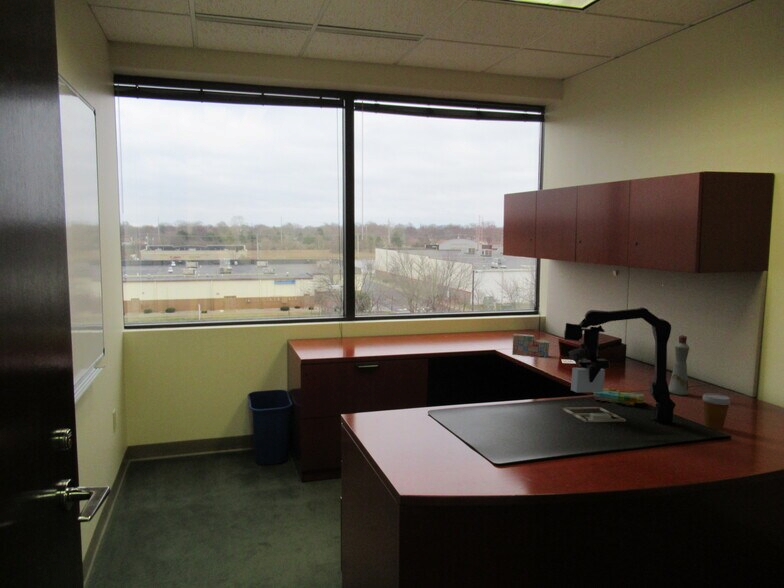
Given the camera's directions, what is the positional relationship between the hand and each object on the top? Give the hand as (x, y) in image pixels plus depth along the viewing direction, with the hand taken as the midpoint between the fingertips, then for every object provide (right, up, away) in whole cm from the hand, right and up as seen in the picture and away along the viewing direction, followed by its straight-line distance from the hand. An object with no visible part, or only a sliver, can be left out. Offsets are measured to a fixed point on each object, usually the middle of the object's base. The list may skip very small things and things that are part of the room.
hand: (587, 380), depth 232 cm
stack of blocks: (+6, -3, +124) cm, 124 cm away
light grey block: (0, -4, 0) cm, 4 cm away
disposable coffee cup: (+45, -16, -9) cm, 49 cm away
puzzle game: (+21, -13, +22) cm, 33 cm away
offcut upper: (+1, -13, -11) cm, 17 cm away
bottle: (+57, -13, +43) cm, 72 cm away
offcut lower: (+1, -15, -10) cm, 18 cm away
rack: (0, -14, -6) cm, 15 cm away
